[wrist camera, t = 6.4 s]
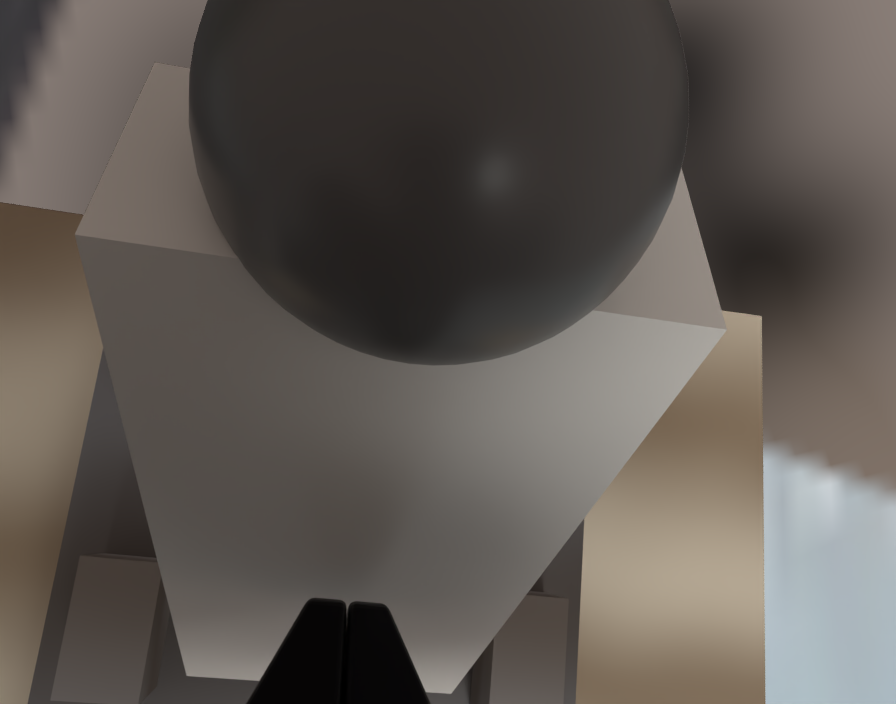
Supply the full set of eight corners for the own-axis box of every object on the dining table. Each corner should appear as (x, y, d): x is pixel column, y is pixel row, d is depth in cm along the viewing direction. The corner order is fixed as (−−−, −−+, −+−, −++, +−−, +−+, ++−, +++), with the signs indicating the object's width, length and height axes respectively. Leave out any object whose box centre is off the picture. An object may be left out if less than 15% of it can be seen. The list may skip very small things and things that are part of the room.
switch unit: (741, 1041, 16) (943, 1279, 11) (-309, 1041, 13) (-702, 1363, 8) (740, 326, 20) (887, 255, 15) (-71, 207, 17) (-235, 67, 12)
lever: (451, 736, 11) (1002, 125, 3) (177, 720, 11) (-102, -97, 2) (452, 548, 13) (795, -156, 5) (219, 526, 13) (144, -316, 4)
